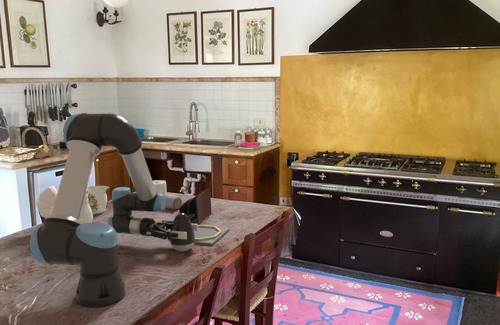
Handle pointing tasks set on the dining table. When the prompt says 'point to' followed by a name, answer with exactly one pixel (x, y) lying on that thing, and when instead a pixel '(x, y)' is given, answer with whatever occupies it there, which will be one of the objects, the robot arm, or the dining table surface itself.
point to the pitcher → (97, 198)
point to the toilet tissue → (160, 186)
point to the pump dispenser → (182, 225)
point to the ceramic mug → (172, 202)
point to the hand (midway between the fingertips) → (192, 231)
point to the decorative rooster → (48, 201)
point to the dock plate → (209, 234)
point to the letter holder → (198, 207)
